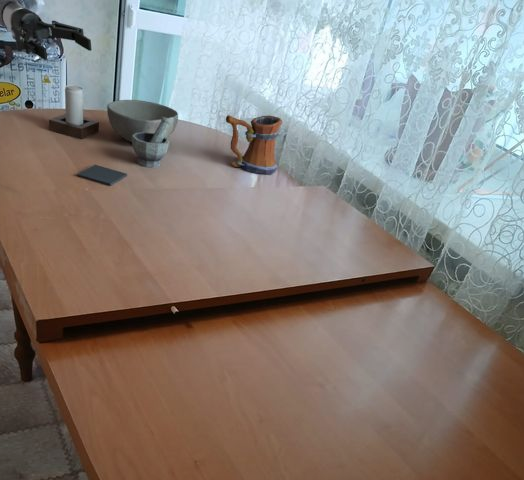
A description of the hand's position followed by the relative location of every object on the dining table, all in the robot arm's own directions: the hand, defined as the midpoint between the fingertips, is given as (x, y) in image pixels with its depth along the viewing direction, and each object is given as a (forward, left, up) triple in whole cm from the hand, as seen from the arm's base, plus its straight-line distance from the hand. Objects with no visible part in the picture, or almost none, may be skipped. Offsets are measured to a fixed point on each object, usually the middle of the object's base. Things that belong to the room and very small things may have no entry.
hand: (68, 49), depth 145 cm
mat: (+23, -23, -22) cm, 39 cm away
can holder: (0, +2, -22) cm, 22 cm away
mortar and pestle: (+28, -5, -22) cm, 36 cm away
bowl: (+18, +9, -22) cm, 30 cm away
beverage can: (0, +2, -22) cm, 22 cm away
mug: (+51, +13, -22) cm, 57 cm away
